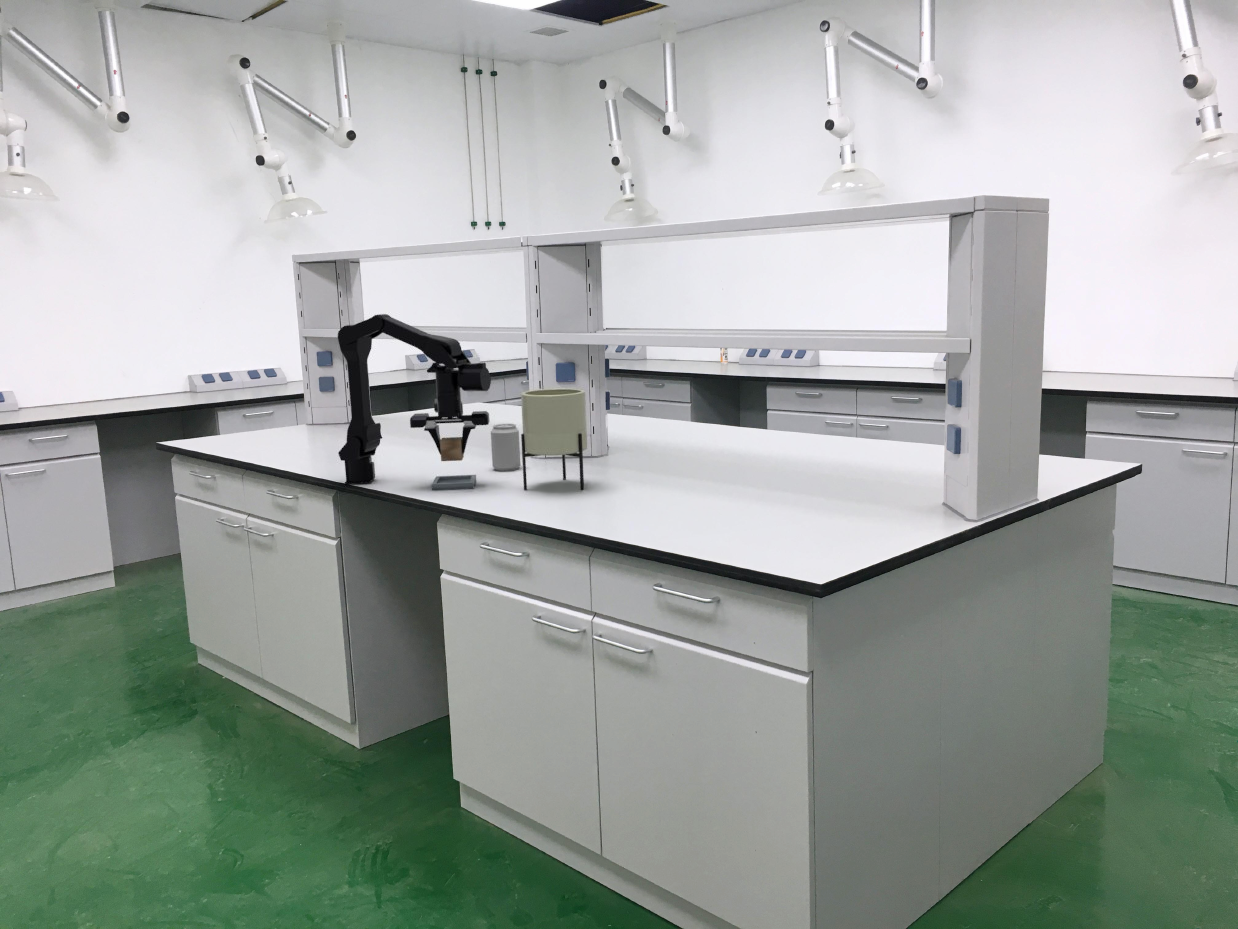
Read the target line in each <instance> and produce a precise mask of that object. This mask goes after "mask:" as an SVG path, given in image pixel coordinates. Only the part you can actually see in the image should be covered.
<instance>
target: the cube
mask: <svg viewBox="0 0 1238 929" xmlns="http://www.w3.org/2000/svg"><path fill="white" fill-rule="evenodd" d="M440 439H441V440H440V450H441V455H440V462H451V461H452V462H453V461H459V462H460V461H463V459H464V458H465V457H464V456H465V455H464V454H465V453H464V454H462V436H455V437H451V436H450V437H441V438H440Z"/></svg>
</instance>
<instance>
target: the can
mask: <svg viewBox="0 0 1238 929" xmlns="http://www.w3.org/2000/svg"><path fill="white" fill-rule="evenodd" d="M492 427H493V428H492V429H491V430H490V442H491V443H490V445H491V459H492V460H491V461H492V462H491V463H492V464H491V465H492V468H493V469H495V470H496V471H498V472H511V471H517V470H518V469H519V467H521V449H520V448H521V447H520V430H519V428H518V427H517V424H514V423H497V424H493V425H492Z"/></svg>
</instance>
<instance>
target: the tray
mask: <svg viewBox="0 0 1238 929" xmlns="http://www.w3.org/2000/svg"><path fill="white" fill-rule="evenodd" d="M476 483H477V474H461V475H459V474H457V475H438V476H437V475H436V476H435V478H434V479H433V481H432V482H431V491H447V490H451V491H452V490H468V489H469V490H471V489H473V490H474V488H475V485H476Z"/></svg>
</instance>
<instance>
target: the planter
mask: <svg viewBox="0 0 1238 929" xmlns="http://www.w3.org/2000/svg"><path fill="white" fill-rule="evenodd" d="M520 400H521V401H520V403H521V420H522V421H521V422H522V424H521V425H522V433H521V434H520V441H521V459H522V461H521V462H522V476H523V477H522V478H523V479H522V480H523V491H527V490H528V484H527V467H526V463H527V462H526V458H529V457H537V456H538V457H540V456H561V460H562V461H561V462H562V480H563V481H567V471H566V470H567V469H566V468H567V464H566V456H569V457H576V458H578V459H579V460H578V462H579V484H580V486H579V487H580V490H581V491H585V480H584V479H585V478H584V457H583V456H584V455H583V451H586V450H587V449H588V435H587V434H588V433H587V409H586V408H587V406H586V391H585V390H584V389H578V388H567V387H566V388H541V389H534V390H533V389H532V390H526V391H523V392H521V394H520Z"/></svg>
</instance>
